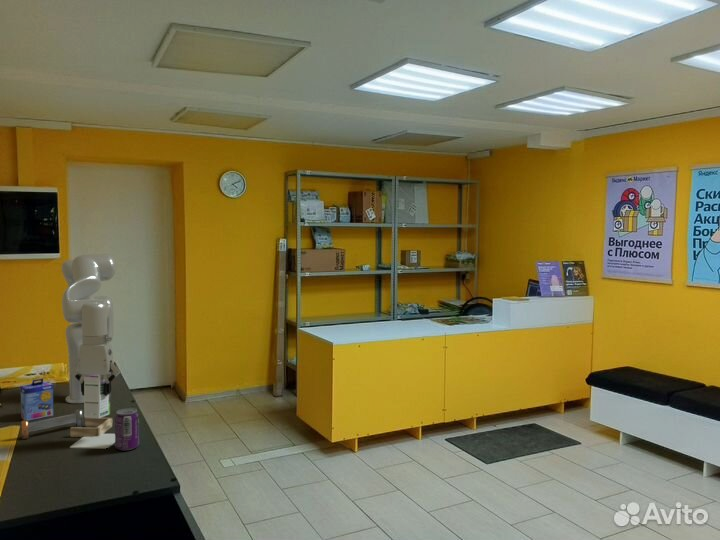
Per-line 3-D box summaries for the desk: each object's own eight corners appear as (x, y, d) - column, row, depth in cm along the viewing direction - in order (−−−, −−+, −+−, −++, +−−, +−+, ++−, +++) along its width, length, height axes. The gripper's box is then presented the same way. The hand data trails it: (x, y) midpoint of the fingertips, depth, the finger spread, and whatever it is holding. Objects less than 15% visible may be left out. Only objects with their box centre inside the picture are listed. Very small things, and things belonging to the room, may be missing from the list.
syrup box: (99, 418, 184) (100, 373, 184) (83, 417, 185) (84, 372, 185) (110, 414, 190) (111, 370, 190) (94, 413, 191) (95, 369, 191)
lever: (81, 424, 203) (81, 408, 203) (84, 426, 201) (83, 410, 201) (21, 437, 190) (20, 420, 190) (23, 439, 188) (22, 422, 188)
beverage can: (144, 445, 185) (143, 409, 185) (128, 453, 179) (127, 415, 178) (126, 442, 188) (125, 406, 187) (110, 450, 181) (109, 413, 180)
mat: (88, 434, 194) (88, 433, 194) (123, 434, 194) (123, 433, 194) (69, 448, 182) (69, 446, 182) (107, 448, 182) (107, 447, 182)
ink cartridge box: (25, 422, 206) (24, 382, 205) (20, 418, 210) (18, 379, 209) (54, 415, 213) (53, 377, 212) (49, 412, 217) (48, 374, 216)
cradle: (86, 425, 203) (86, 417, 203) (113, 426, 203) (112, 417, 203) (70, 436, 192) (70, 428, 192) (98, 437, 192) (98, 428, 192)
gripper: (126, 338, 190) (127, 391, 191) (74, 337, 190) (75, 390, 191) (116, 342, 182) (117, 398, 183) (62, 342, 182) (63, 397, 183)
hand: (96, 393), depth 187 cm, fingers closed on syrup box, 6 cm apart
